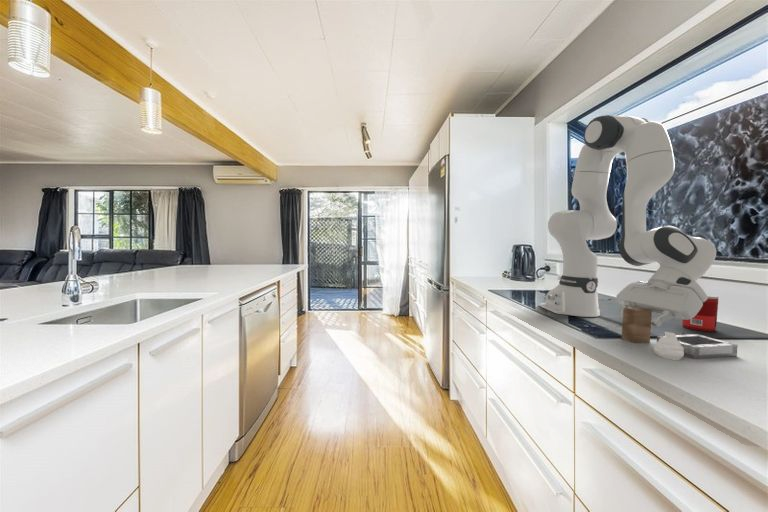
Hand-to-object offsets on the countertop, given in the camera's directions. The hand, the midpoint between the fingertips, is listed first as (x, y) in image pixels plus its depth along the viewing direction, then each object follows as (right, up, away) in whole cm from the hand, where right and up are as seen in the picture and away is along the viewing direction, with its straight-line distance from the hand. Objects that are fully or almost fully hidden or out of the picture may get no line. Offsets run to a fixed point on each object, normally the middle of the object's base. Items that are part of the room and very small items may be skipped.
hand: (637, 320), depth 92 cm
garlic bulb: (-2, -7, -12) cm, 14 cm away
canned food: (+31, -6, +14) cm, 34 cm away
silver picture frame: (+8, -6, -8) cm, 13 cm away
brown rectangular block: (0, -6, 0) cm, 6 cm away
